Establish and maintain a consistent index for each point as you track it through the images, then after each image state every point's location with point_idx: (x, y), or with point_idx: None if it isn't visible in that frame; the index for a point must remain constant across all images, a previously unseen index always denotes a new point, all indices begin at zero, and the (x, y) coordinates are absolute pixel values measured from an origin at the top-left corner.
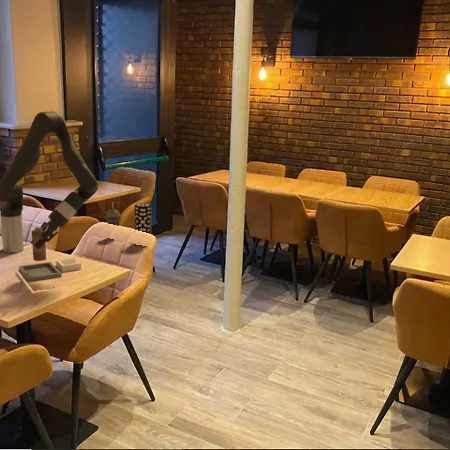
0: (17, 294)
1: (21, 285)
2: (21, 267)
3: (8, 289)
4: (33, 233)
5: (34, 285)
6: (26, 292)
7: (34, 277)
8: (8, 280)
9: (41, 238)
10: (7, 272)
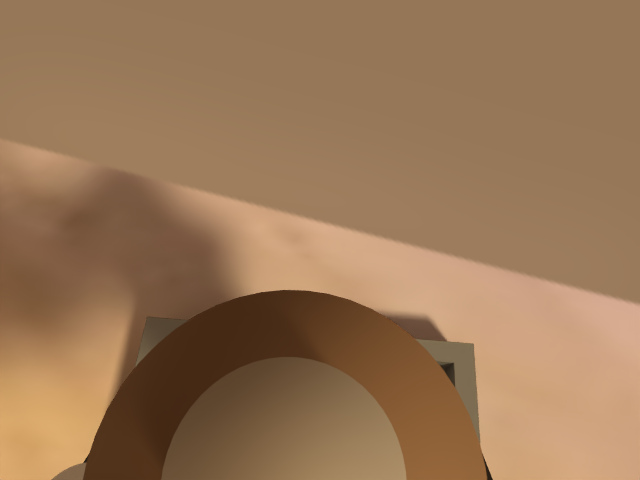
0: (33, 216)
1: (167, 282)
2: (432, 351)
3: (152, 199)
4: (223, 316)
5: (106, 356)
6: (22, 269)
7: (136, 365)
8: (313, 242)
9: (60, 476)
10: (481, 282)
